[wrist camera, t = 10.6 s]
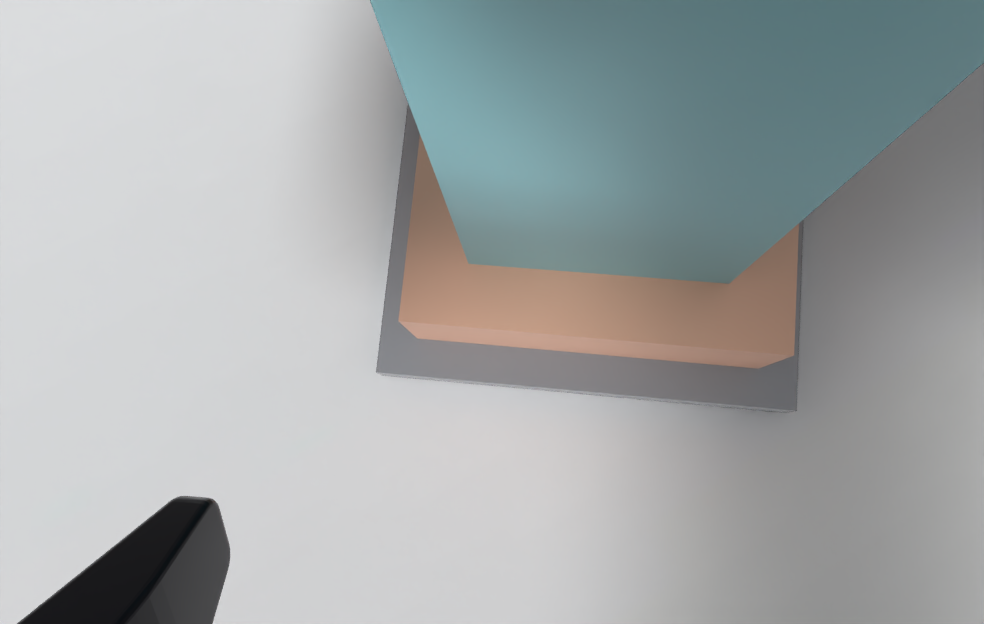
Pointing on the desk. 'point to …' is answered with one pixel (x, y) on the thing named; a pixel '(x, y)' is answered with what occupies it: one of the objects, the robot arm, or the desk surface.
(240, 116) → the desk surface
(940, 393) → the desk surface
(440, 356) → the tower base
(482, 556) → the desk surface
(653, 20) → the teal brick
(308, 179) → the desk surface
